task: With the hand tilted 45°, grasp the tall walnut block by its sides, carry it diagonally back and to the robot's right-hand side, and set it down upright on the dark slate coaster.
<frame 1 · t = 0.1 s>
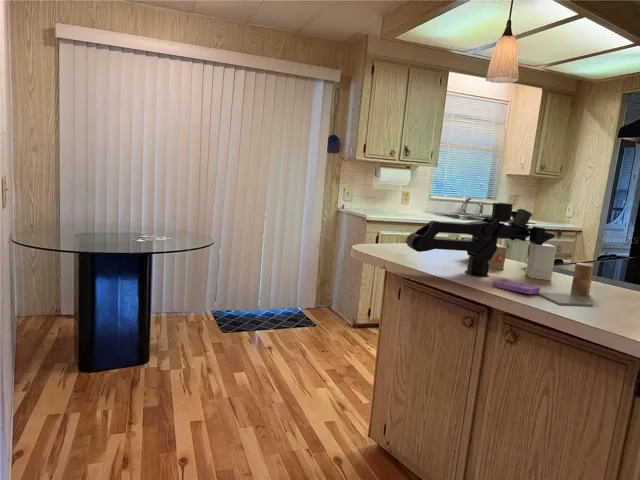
hand: (546, 234, 165), 17 cm above the countertop, tool horizontal, fingers open, 9 cm apart
walnut block: (579, 294, 146), on the countertop
mug: (533, 268, 184), on the countertop
coaster: (563, 299, 136), on the countertop
tan cardboard box: (485, 264, 186), on the countertop
supplement box: (538, 277, 167), on the countertop
sponges: (515, 289, 144), on the countertop, touching coaster
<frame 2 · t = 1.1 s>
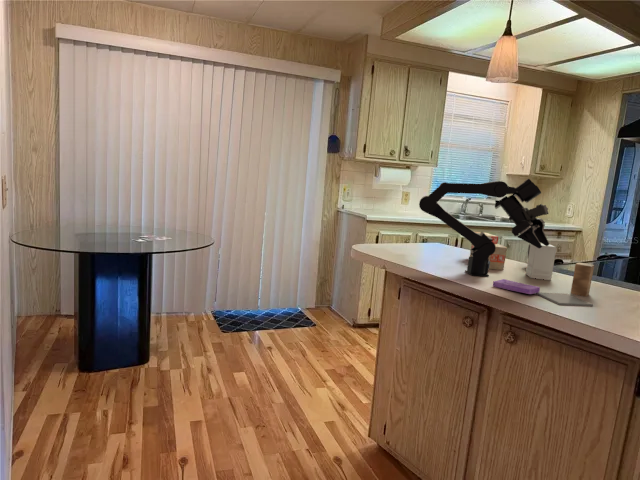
hand: (544, 246, 151), 14 cm above the countertop, tool tilted 45°, fingers open, 9 cm apart
nothing on the countertop moved.
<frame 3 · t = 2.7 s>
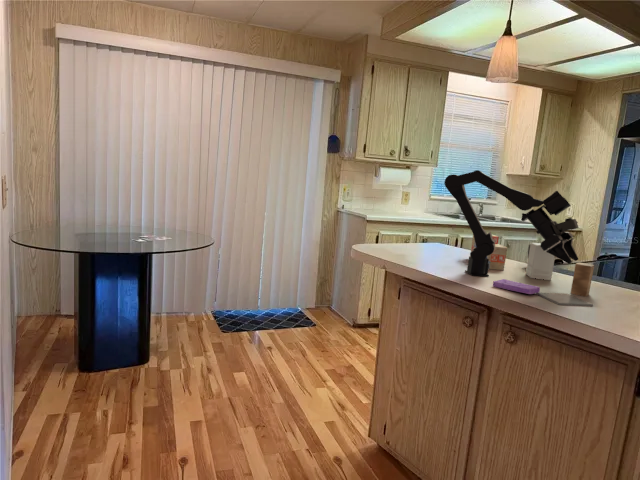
hand: (574, 261, 146), 10 cm above the countertop, tool tilted 45°, fingers open, 9 cm apart
nothing on the countertop moved.
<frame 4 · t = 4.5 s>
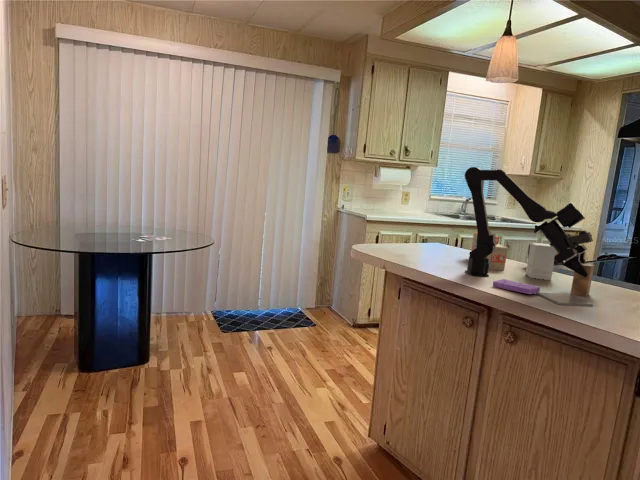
hand: (588, 275, 144), 7 cm above the countertop, tool tilted 45°, fingers closed on walnut block, 4 cm apart
walnut block: (579, 293, 146), on the countertop, touching gripper
everything else where it was.
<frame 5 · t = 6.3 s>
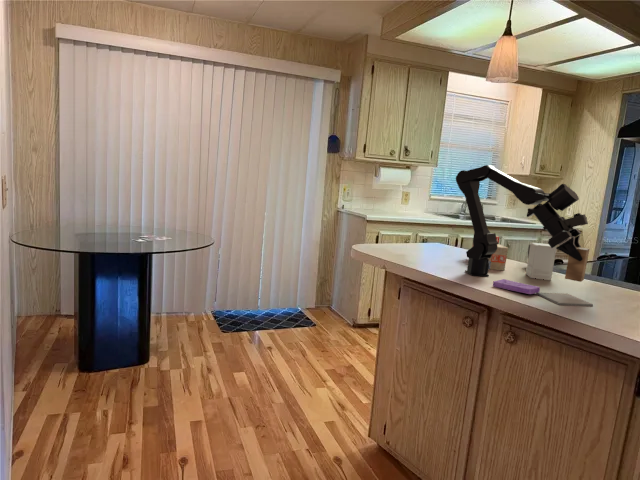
hand: (582, 259, 138), 12 cm above the countertop, tool tilted 45°, fingers closed on walnut block, 4 cm apart
walnut block: (574, 279, 140), point 6 cm above the countertop, touching gripper
everything else where it was.
when the fingers open (8 cm above the countertop, at t = 8.1 s): walnut block drops 1 cm, resting on coaster.
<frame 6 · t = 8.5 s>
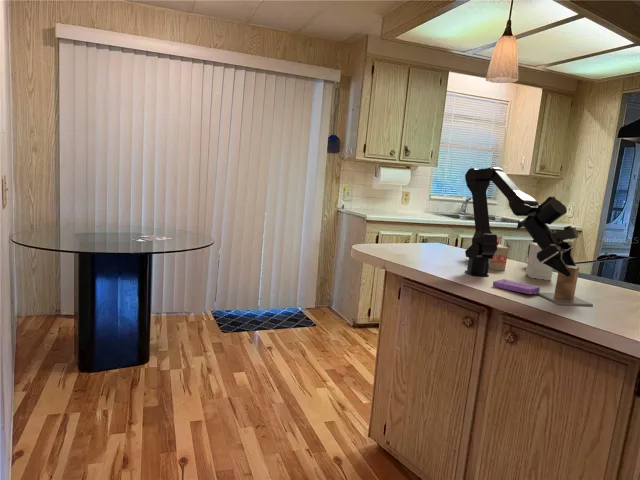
hand: (573, 273, 134), 9 cm above the countertop, tool tilted 45°, fingers open, 9 cm apart
walnut block: (563, 298, 136), point 1 cm above the countertop, touching coaster
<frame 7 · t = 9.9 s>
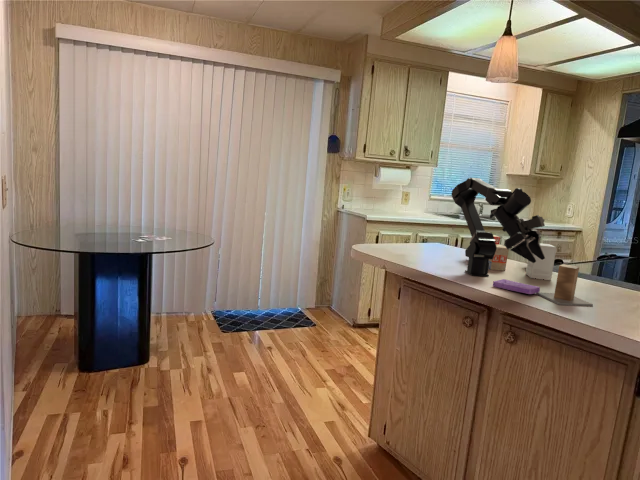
hand: (539, 260, 142), 10 cm above the countertop, tool tilted 45°, fingers open, 9 cm apart
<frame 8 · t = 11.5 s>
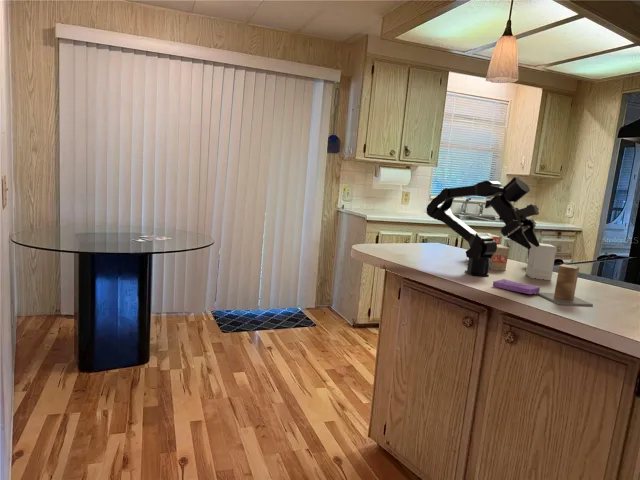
hand: (534, 247, 148), 14 cm above the countertop, tool tilted 45°, fingers open, 9 cm apart
at the end: walnut block 0.0 cm from the coaster (horizontally); walnut block tilted 0°; the gripper is holding nothing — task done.
